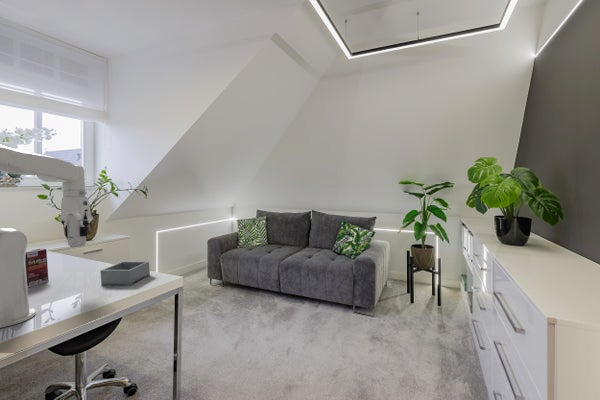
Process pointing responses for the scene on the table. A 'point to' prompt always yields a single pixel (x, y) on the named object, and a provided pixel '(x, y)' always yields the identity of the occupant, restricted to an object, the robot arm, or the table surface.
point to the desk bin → (124, 273)
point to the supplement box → (36, 267)
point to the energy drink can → (74, 232)
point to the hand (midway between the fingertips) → (76, 235)
